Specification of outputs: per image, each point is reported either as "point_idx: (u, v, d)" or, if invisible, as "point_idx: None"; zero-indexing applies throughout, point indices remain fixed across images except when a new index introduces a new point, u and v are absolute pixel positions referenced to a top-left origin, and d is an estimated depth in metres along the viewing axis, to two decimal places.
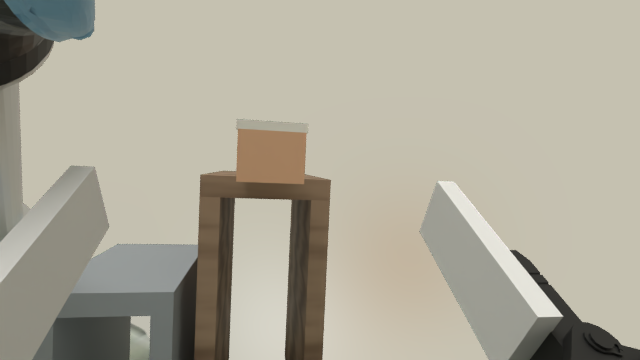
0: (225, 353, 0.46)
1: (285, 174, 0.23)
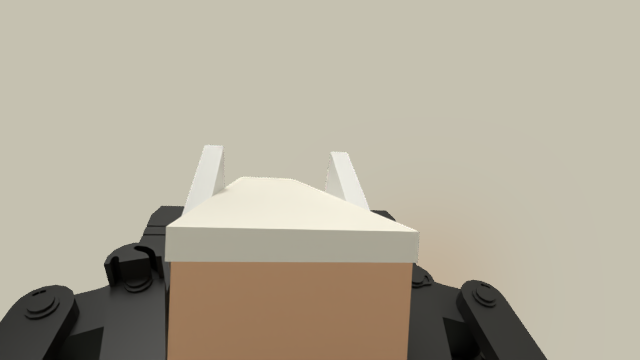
0: None
1: None
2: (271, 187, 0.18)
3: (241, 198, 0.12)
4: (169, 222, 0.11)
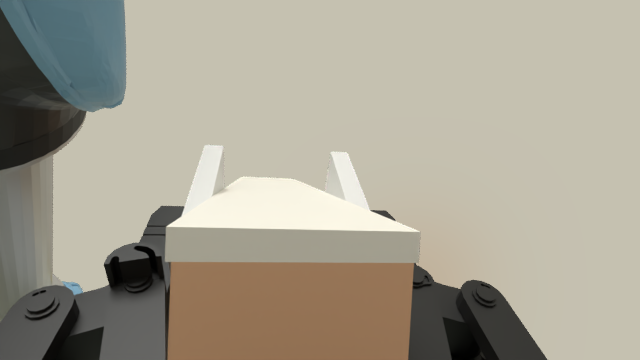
0: None
1: None
2: (271, 187, 0.18)
3: (241, 198, 0.12)
4: (169, 222, 0.11)
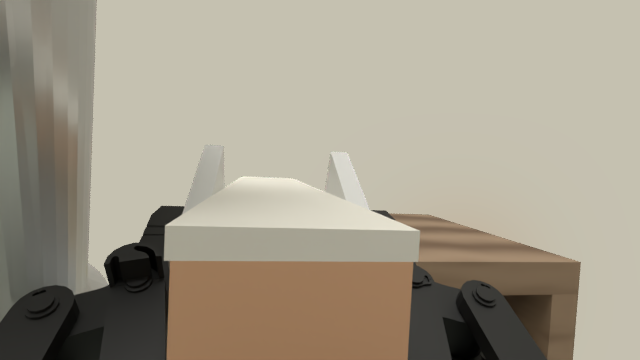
0: None
1: None
2: (271, 187, 0.18)
3: (241, 197, 0.12)
4: (169, 222, 0.11)
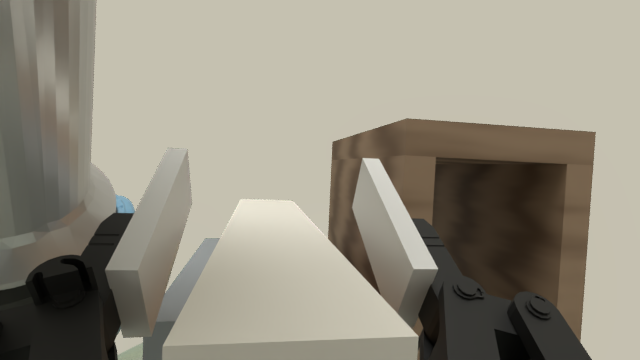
0: None
1: None
2: (270, 226, 0.18)
3: (239, 260, 0.12)
4: (118, 230, 0.11)
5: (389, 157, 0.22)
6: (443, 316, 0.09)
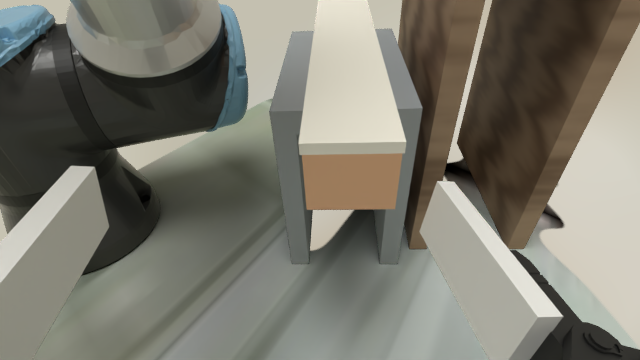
0: None
1: (370, 200, 0.17)
2: (343, 45, 0.24)
3: (324, 86, 0.19)
4: None
5: None
6: None
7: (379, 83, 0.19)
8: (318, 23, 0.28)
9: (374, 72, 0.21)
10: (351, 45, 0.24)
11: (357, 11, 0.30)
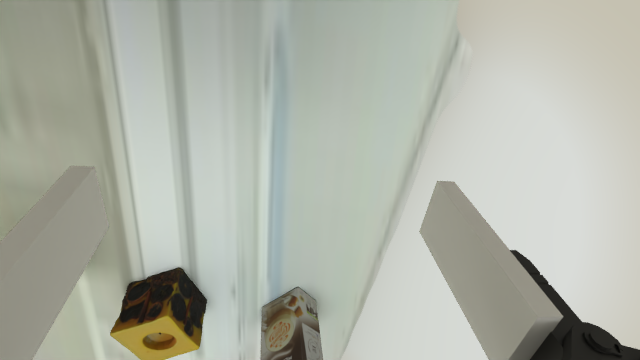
0: None
1: None
2: None
3: None
4: None
5: None
6: None
7: None
8: None
9: None
10: None
11: None
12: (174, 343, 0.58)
